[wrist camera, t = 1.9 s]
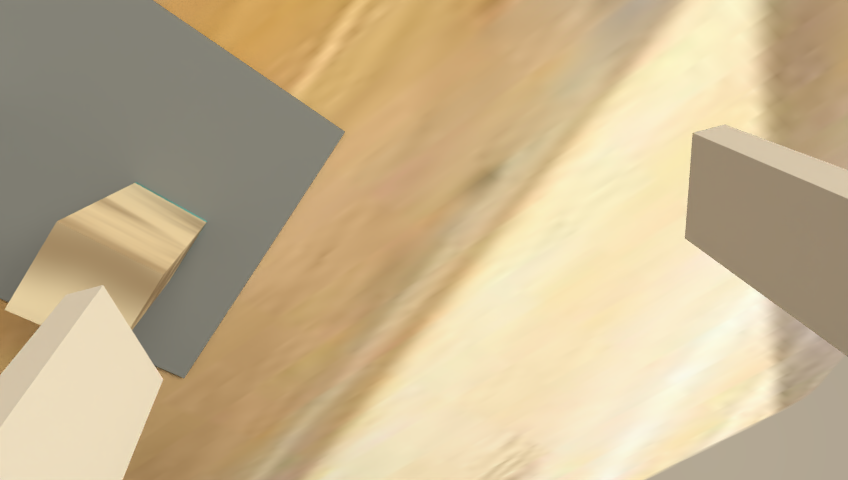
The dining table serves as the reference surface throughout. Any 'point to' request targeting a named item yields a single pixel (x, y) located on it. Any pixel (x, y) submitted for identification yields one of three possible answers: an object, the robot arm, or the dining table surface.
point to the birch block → (110, 254)
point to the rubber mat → (148, 148)
